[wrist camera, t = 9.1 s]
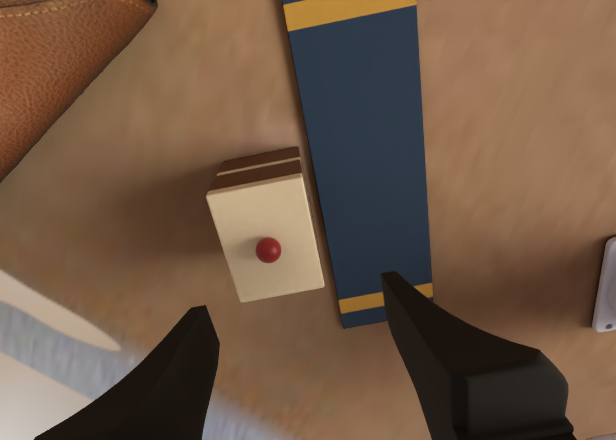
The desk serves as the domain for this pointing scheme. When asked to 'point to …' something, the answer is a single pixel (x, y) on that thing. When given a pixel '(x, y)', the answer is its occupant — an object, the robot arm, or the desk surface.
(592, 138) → the desk surface
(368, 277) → the cloth
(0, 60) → the sunglasses case
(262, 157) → the cake slice
